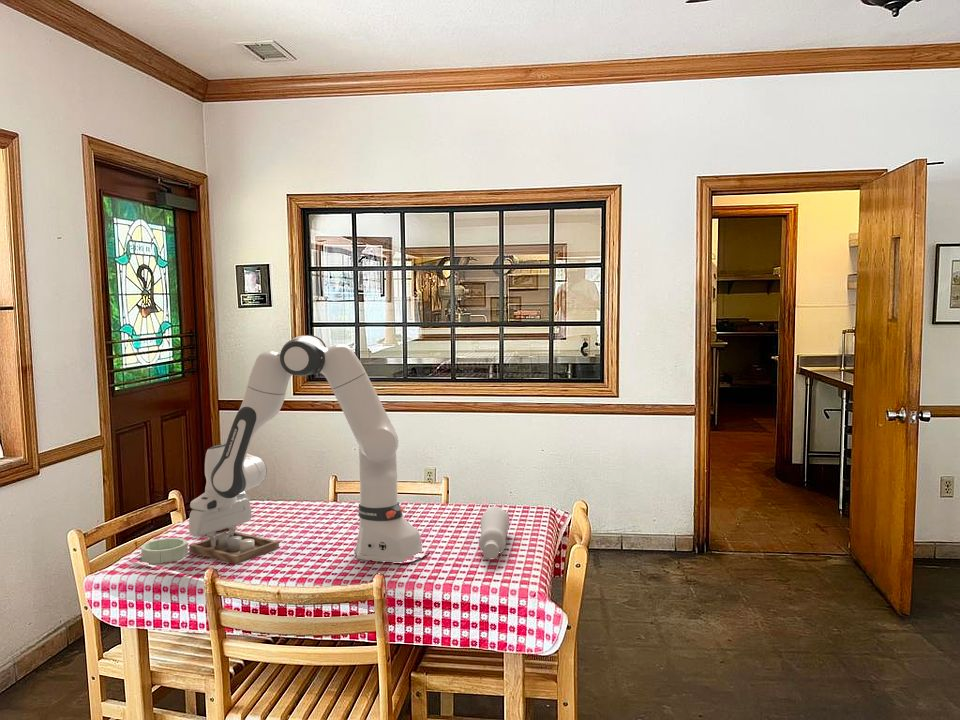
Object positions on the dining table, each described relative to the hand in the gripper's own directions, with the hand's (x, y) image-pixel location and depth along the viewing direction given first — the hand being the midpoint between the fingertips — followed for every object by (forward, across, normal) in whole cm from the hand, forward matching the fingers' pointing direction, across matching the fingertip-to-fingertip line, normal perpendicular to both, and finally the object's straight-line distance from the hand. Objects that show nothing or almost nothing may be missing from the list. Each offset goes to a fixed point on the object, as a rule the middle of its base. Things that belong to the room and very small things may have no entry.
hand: (222, 543), depth 212 cm
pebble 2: (+1, 0, +6) cm, 6 cm away
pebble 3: (+1, 0, +11) cm, 11 cm away
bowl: (+2, +14, -8) cm, 16 cm away
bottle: (+2, -43, +69) cm, 81 cm away
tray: (+2, 0, +6) cm, 6 cm away
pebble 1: (+1, 0, 0) cm, 1 cm away
